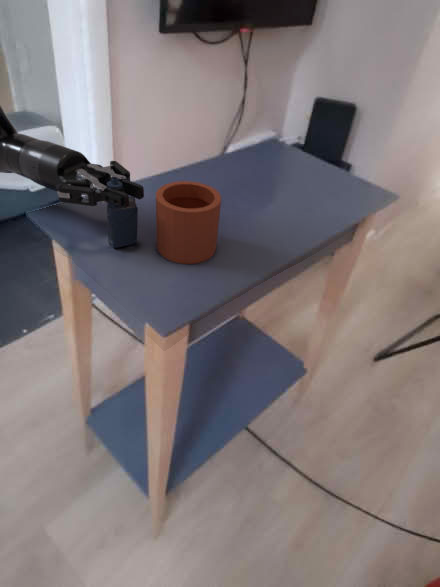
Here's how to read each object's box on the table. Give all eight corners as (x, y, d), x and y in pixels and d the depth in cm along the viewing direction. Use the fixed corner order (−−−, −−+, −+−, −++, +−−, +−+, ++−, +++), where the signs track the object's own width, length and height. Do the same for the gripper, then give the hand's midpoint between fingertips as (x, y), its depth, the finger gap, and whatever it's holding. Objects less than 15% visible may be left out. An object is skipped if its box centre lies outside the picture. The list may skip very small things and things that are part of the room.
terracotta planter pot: (196, 271, 65) (199, 219, 59) (144, 249, 68) (142, 197, 62) (226, 243, 72) (232, 193, 66) (178, 224, 76) (179, 175, 69)
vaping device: (105, 242, 68) (103, 175, 61) (132, 236, 71) (134, 172, 64) (111, 249, 67) (110, 181, 60) (139, 243, 70) (141, 178, 63)
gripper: (14, 157, 60) (101, 191, 54) (81, 134, 69) (161, 160, 64) (25, 202, 65) (106, 237, 59) (87, 174, 74) (161, 202, 69)
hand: (134, 197), depth 62 cm, fingers open, 3 cm apart
